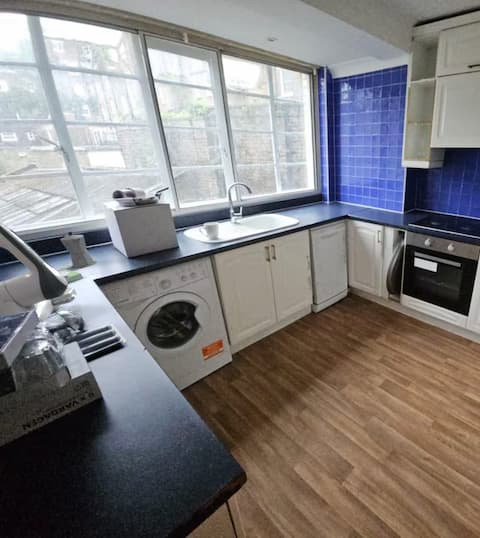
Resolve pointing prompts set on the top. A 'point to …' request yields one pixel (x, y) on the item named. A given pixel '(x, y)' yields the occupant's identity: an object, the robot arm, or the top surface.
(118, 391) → the top surface
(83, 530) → the top surface
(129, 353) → the top surface
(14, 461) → the top surface
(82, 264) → the coffeepot
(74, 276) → the scale
